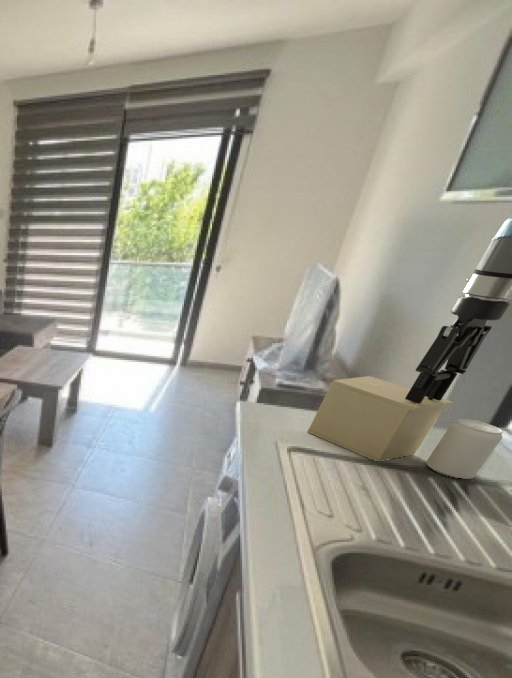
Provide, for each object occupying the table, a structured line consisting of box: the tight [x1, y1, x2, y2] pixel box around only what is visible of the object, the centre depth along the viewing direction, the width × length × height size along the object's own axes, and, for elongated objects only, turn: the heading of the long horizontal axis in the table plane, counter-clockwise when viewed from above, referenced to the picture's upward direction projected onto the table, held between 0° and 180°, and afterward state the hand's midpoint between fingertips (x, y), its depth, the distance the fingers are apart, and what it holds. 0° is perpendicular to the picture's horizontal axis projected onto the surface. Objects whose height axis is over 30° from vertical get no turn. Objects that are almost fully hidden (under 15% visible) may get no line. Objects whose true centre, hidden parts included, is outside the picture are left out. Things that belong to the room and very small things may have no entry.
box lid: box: [331, 370, 454, 411], centre depth 114 cm, size 18×15×8 cm
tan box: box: [307, 382, 446, 462], centre depth 120 cm, size 17×15×14 cm
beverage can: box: [425, 418, 504, 480], centre depth 109 cm, size 8×8×12 cm
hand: (422, 399), depth 111 cm, fingers closed on box lid, 7 cm apart
